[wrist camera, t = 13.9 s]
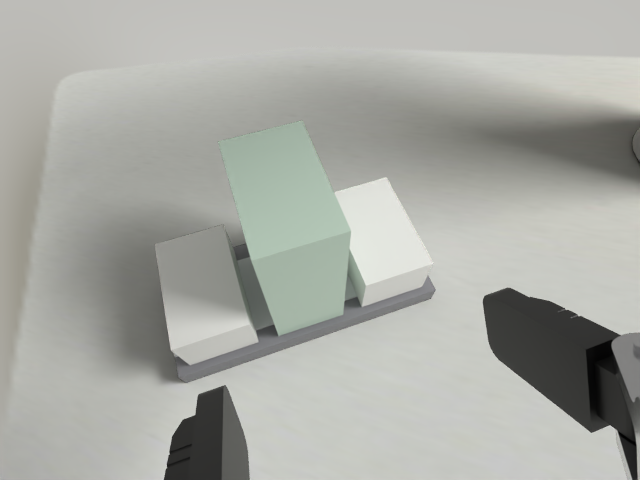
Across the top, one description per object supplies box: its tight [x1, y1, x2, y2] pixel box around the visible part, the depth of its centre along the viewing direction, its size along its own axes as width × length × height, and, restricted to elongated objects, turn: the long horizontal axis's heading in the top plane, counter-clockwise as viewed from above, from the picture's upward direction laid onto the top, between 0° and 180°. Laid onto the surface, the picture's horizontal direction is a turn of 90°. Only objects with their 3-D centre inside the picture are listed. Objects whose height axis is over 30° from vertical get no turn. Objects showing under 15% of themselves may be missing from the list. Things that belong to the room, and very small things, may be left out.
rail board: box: [154, 177, 435, 383], centre depth 31 cm, size 20×9×6 cm, turn 109°
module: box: [218, 121, 351, 336], centre depth 26 cm, size 5×8×12 cm, turn 19°
